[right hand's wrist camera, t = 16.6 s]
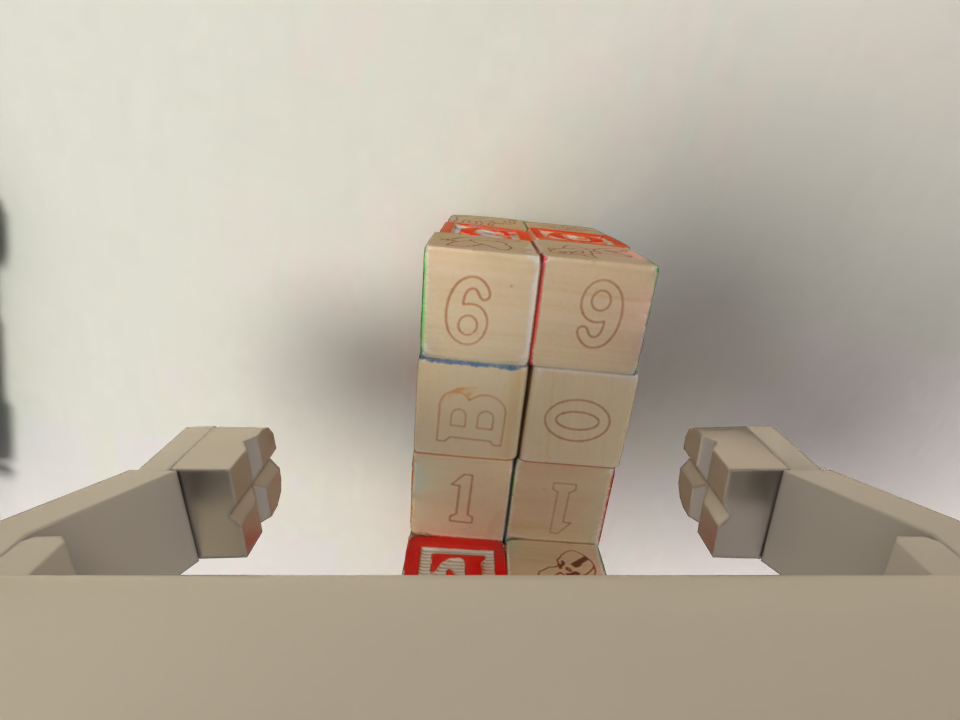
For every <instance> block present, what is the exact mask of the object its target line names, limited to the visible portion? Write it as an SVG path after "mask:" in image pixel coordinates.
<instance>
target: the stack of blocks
mask: <svg viewBox="0 0 960 720" xmlns="http://www.w3.org/2000/svg"><path fill="white" fill-rule="evenodd" d="M658 272H659V269H658V266H657V265H655V264H654V263H652V262H650V261H649V260H647V259H645V258H644V257H642V256H640V255H639V254H637V253H635V252H634V251H632V250H630V247H628V246H627V245H625V244H623V243H622V242H620V241H618V240H616V239H614V238H612V237H609V236H607V235H605V234H603V233H601V232H599V231H597V230H595V229H592V228H586V227H575V226H565V225H555V224H545V223H535V222H523V221H518V220H511V219H502V218H492V217H481V216H467V215H452V216H451V217H450V218H449V220H448V222H446V223H445V224H444V226H443V227H442V229H441V230H440V232H437V233H434V235H433V236H432V237H431V238H430V240H429V241H428V243H427V244H426V246H425V252H424V269H423V291H422V314H421V352H420V355H419V359H418V368H417V388H416V411H415V431H414V454H413V462H412V468H413V469H412V487H411V534H410V536H409V538H408V544H407V549H406V556H405V562H404V567H403V571H402V575H606V572H605V568H604V565H603V561H602V558H601V554H600V551H599V548H598V544H599V541H600V537H601V532H602V528H603V523H604V519H605V514H606V509H607V505H608V500H609V496H610V491H611V487H612V483H613V478H614V472H615V468H616V467H617V466H618V465H619V463H620V459H621V455H622V450H623V446H624V442H625V438H626V433H627V429H628V425H629V420H630V415H631V411H632V406H633V402H634V397H635V393H636V388H637V384H638V379H639V376H638V373H637V371H636V368H637V365H638V361H639V358H640V354H641V349H642V345H643V340H644V335H645V330H646V326H647V322H648V318H649V314H650V309H651V303H652V299H653V295H654V291H655V286H656V281H657V277H658Z"/></svg>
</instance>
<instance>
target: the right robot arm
mask: <svg viewBox="0 0 960 720" xmlns="http://www.w3.org/2000/svg"><path fill="white" fill-rule="evenodd" d="M275 449H276V445H275V440H274V435H273V432H272V431H271V430H270V429H269V428H256V427H216V426H205V427H187V428H185V429H184V430H183V431H182V432H181V433H180V434H179V435H177V436H176V437H175V438H174V439H173V440H172V441H171V442H170V443H168V444H167V445H166V446H165V447H164V448H163V449H162V450H160V451H159V452H158V453H157V454H156V455H155V456H154V457H152V458H151V459H150V460H149V461H148V462H147V463H146V464H144V465H143V466H142V467H141V468H140V469H139V470H129V471H126V472H124V473H121V474H119V475H116V476H113V477H111V478H108V479H106V480H103V481H101V482H98V483H96V484H93V485H90V486H88V487H85V488H83V489H80V490H78V491H75V492H73V493H70V494H67V495H65V496H62V497H60V498H57V499H55V500H52V501H50V502H47V503H45V504H42V505H39V506H37V507H34V508H32V509H29V510H27V511H24V512H22V513H19V514H16V515H14V516H11V517H9V518H6V519H4V520H1V521H0V720H960V521H958V520H956V519H953V518H951V517H948V516H946V515H943V514H941V513H938V512H936V511H933V510H930V509H928V508H925V507H923V506H920V505H918V504H915V503H913V502H910V501H908V500H905V499H903V498H900V497H897V496H895V495H892V494H890V493H887V492H885V491H882V490H880V489H877V488H875V487H872V486H869V485H867V484H864V483H862V482H859V481H857V480H854V479H852V478H849V477H847V476H844V475H841V474H839V473H836V472H834V471H831V470H821V469H820V468H819V467H818V466H817V465H816V464H814V463H813V462H812V461H811V460H810V459H809V458H808V457H806V456H805V455H804V454H803V453H802V452H801V451H800V450H799V449H797V448H796V447H795V446H794V445H793V444H792V443H791V442H789V441H788V440H787V439H786V438H785V437H784V436H783V435H782V434H780V433H779V432H778V431H777V430H776V429H775V428H772V427H769V426H758V427H708V428H692V429H689V431H688V433H687V435H686V439H685V444H684V449H685V451H686V453H687V454H688V456H689V457H690V459H689V460H688V461H687V462H686V463H685V464H684V465H683V466H682V467H681V468H680V476H679V493H680V499H681V502H682V505H683V508H684V509H685V511H686V513H687V515H688V516H689V517H691V518H692V519H694V520H696V521H697V522H699V527H698V533H699V535H700V537H701V538H702V540H703V542H704V543H705V545H706V547H707V548H708V550H709V551H710V553H711V555H712V556H713V557H721V558H758V559H761V561H762V562H764V563H765V564H766V565H768V566H769V567H770V568H772V569H773V570H774V571H776V572H777V573H779V574H780V575H180V574H182V573H183V572H184V571H186V570H187V569H188V568H190V567H191V566H193V565H194V564H195V563H197V562H198V561H199V559H201V558H237V557H247V556H248V555H249V553H250V552H251V550H252V548H253V547H254V545H255V543H256V542H257V540H258V538H259V537H260V535H261V533H262V527H261V522H263V521H264V520H266V519H268V518H269V517H271V516H272V515H273V513H274V511H275V509H276V507H277V506H278V502H279V498H280V493H281V475H280V468H279V467H278V466H277V465H276V464H275V463H274V462H273V461H272V460H271V459H270V457H271V456H272V454H273V453H274V451H275Z"/></svg>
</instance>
